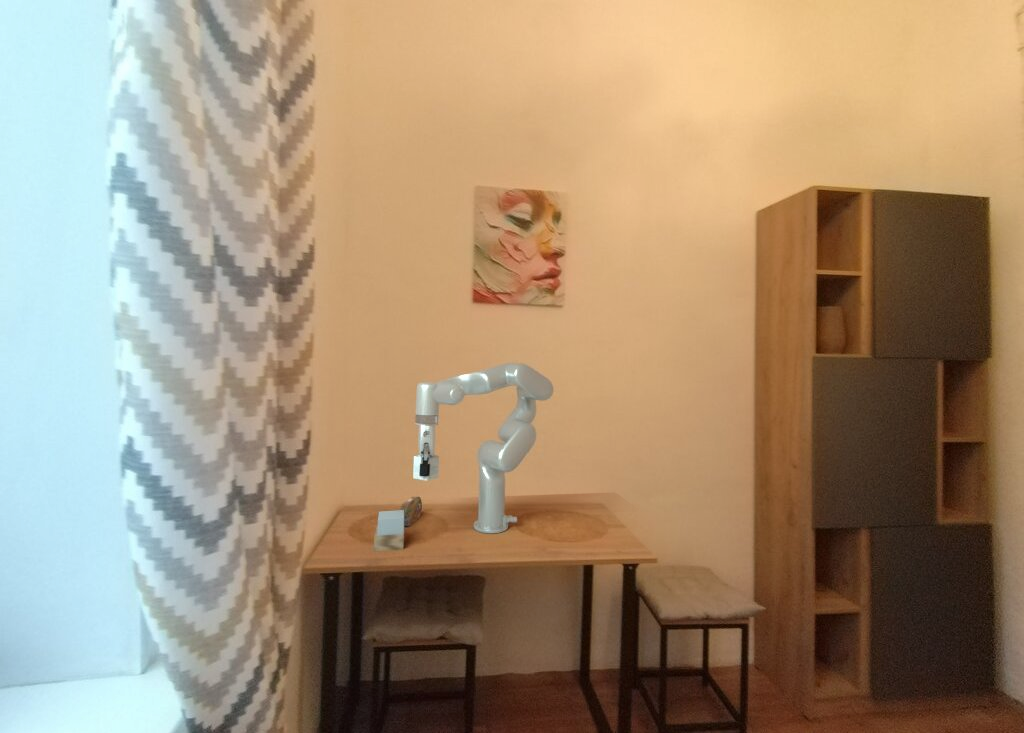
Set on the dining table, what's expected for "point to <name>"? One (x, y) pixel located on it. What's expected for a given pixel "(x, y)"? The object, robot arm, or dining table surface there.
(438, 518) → the dining table surface
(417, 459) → the skincare box
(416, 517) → the tin
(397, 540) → the block
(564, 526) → the dining table surface
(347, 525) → the dining table surface
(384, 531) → the tower top
